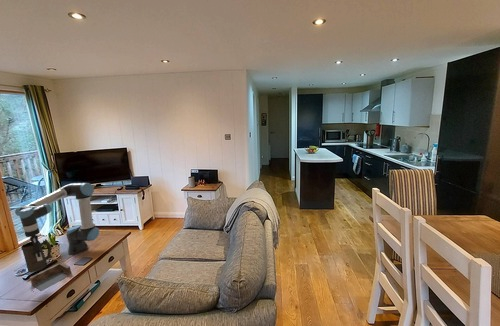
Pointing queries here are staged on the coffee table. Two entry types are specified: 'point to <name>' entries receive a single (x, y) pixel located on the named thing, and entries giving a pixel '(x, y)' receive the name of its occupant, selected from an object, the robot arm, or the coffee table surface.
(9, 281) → the coffee table surface
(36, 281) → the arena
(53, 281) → the pad
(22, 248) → the beer stein
